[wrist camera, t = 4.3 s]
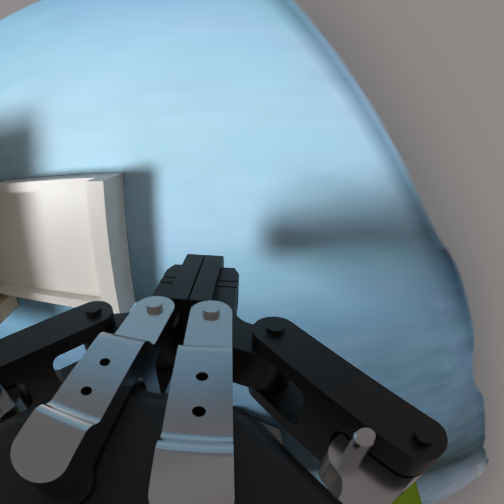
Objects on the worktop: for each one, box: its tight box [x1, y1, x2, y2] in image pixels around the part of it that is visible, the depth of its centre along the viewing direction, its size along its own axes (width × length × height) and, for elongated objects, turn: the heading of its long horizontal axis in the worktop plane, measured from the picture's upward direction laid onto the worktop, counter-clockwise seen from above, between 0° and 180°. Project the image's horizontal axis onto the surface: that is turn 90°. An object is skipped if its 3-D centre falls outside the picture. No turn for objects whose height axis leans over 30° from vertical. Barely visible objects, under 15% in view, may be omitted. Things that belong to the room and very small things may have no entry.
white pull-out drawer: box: [0, 172, 135, 314], centre depth 16 cm, size 15×8×2 cm, turn 87°
